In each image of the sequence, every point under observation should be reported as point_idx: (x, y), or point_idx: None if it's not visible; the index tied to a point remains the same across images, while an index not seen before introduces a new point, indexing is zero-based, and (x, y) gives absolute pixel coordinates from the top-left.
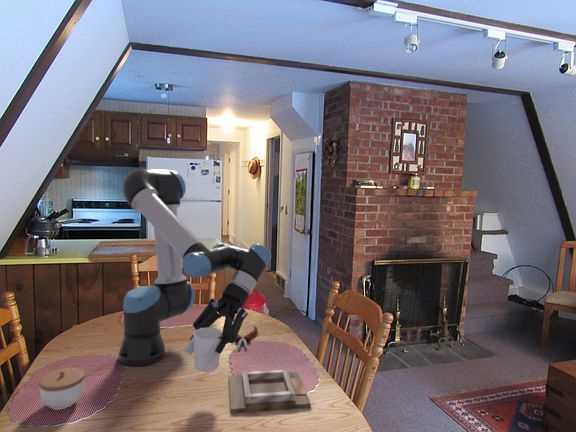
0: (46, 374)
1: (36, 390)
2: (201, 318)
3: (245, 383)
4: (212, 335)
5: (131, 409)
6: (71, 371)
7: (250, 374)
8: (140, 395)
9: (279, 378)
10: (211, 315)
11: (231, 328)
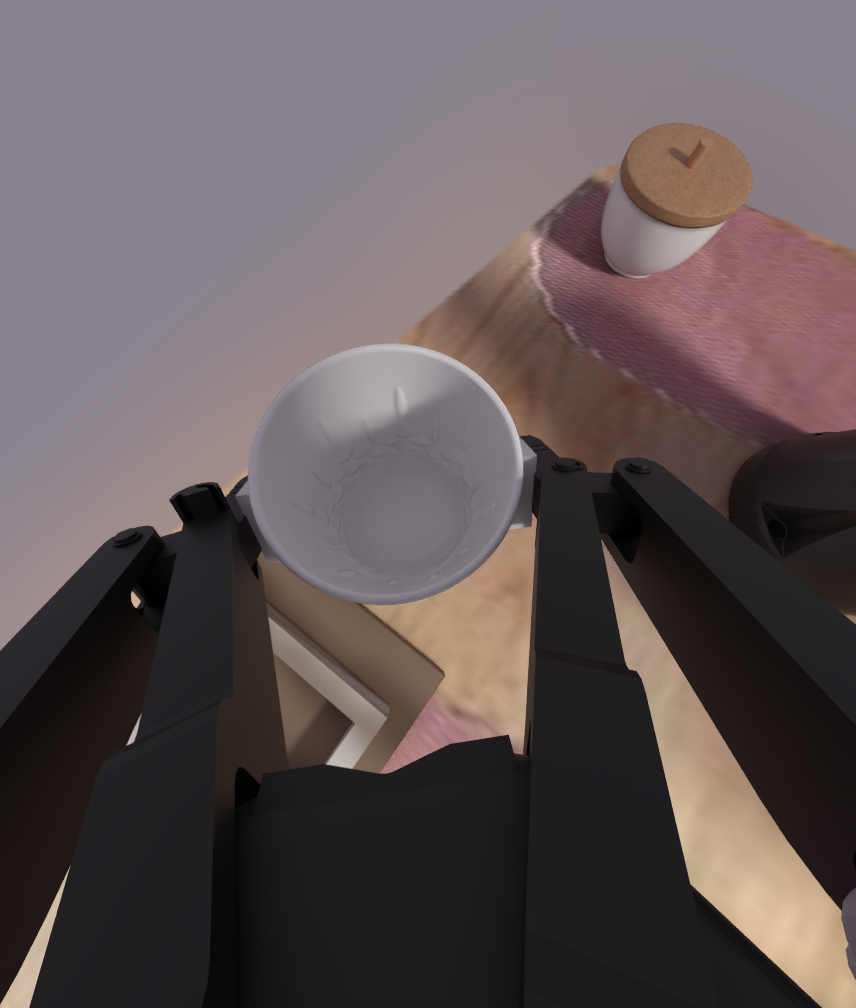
0: (732, 145)
1: (738, 235)
2: (663, 531)
3: (303, 657)
4: (445, 572)
5: (496, 351)
6: (711, 189)
7: (346, 734)
8: (548, 397)
9: None
10: (564, 609)
11: (77, 614)
